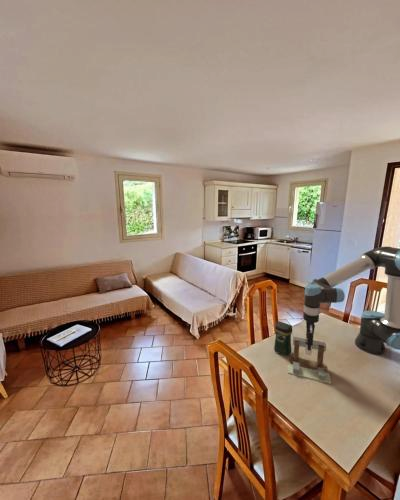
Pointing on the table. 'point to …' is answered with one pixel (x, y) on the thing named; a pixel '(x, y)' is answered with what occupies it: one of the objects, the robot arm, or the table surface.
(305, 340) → the rail
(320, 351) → the rack
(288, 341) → the coffee jar
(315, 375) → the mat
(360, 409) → the table surface
